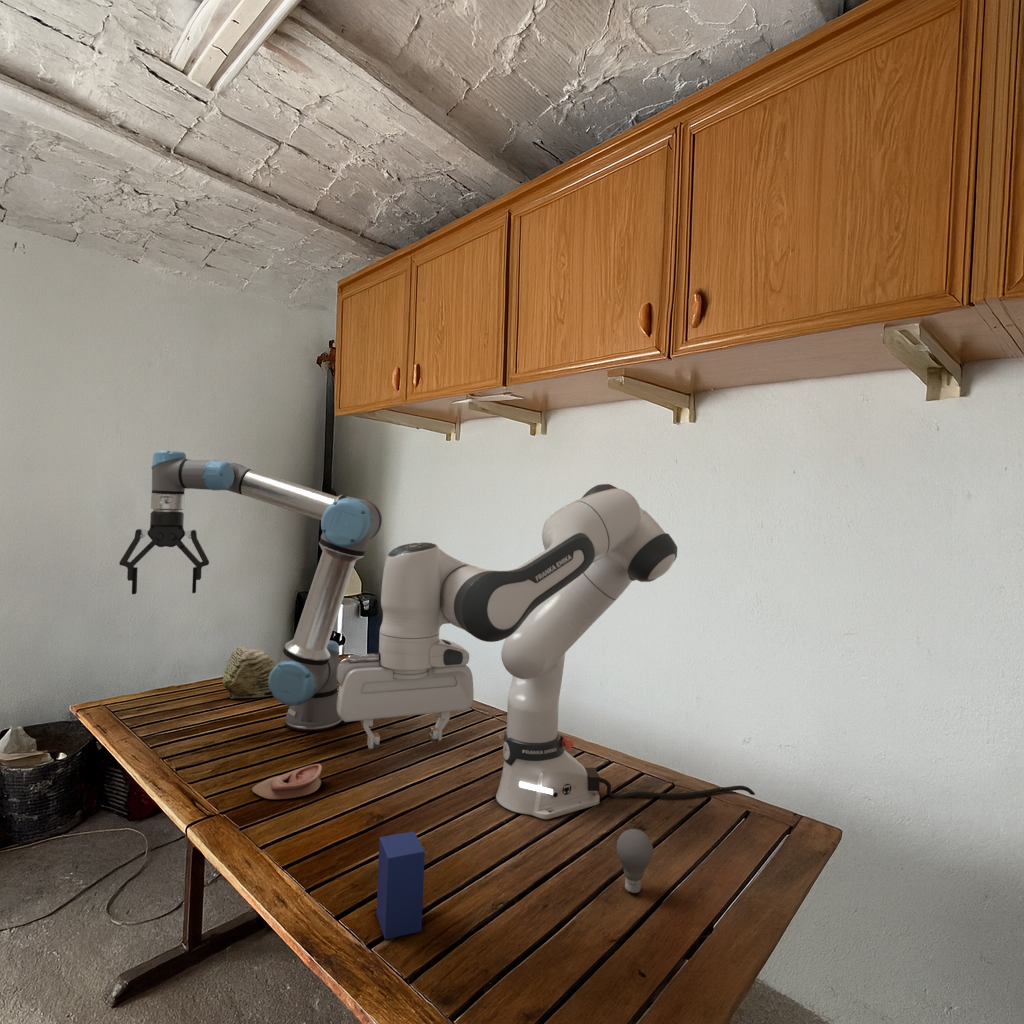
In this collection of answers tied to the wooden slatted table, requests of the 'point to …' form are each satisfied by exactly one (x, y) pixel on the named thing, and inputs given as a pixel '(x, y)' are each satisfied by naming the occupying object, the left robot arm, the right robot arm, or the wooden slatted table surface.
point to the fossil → (248, 673)
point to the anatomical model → (291, 783)
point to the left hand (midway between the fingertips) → (164, 593)
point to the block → (400, 884)
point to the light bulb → (634, 857)
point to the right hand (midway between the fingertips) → (405, 743)
